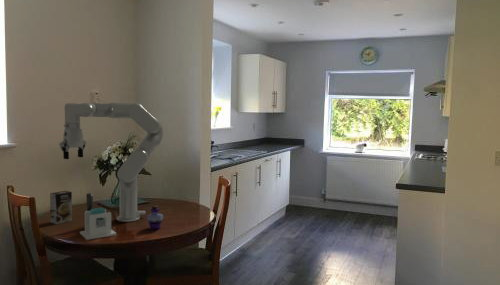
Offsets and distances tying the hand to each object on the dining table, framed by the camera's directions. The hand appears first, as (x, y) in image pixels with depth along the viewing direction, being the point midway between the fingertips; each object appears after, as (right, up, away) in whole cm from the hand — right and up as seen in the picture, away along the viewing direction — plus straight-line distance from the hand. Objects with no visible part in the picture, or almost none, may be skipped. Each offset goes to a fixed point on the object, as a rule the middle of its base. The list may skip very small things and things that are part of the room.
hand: (73, 158), depth 219 cm
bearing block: (+21, -37, -20) cm, 47 cm away
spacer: (+21, -28, -21) cm, 41 cm away
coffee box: (-7, -35, 0) cm, 35 cm away
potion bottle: (+46, -37, -9) cm, 60 cm away
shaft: (+18, -31, -17) cm, 39 cm away
